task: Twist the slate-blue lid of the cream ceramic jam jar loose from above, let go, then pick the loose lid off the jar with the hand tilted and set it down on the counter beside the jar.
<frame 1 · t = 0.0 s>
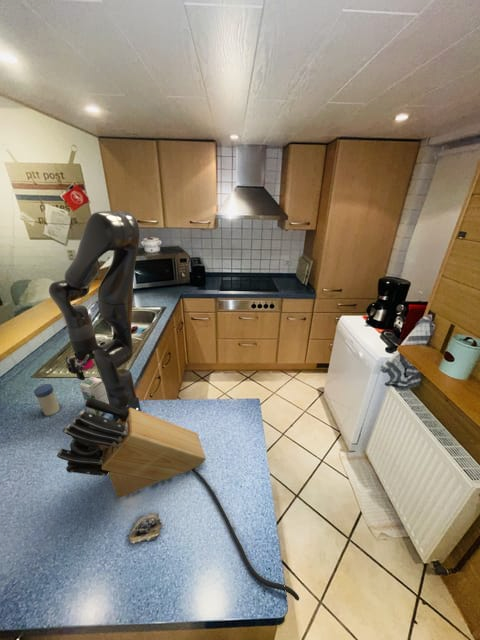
hand: (93, 372, 94), 17 cm above the worktop, tool pointing down, fingers open, 8 cm apart
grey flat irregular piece: (145, 530, 64), on the worktop
jar: (51, 410, 100), on the worktop
pepper mill: (86, 366, 127), on the worktop
syrup box: (99, 411, 100), on the worktop
knife block: (146, 471, 78), on the worktop
lid: (43, 389, 95), point 11 cm above the worktop, screwed on, not yet turned
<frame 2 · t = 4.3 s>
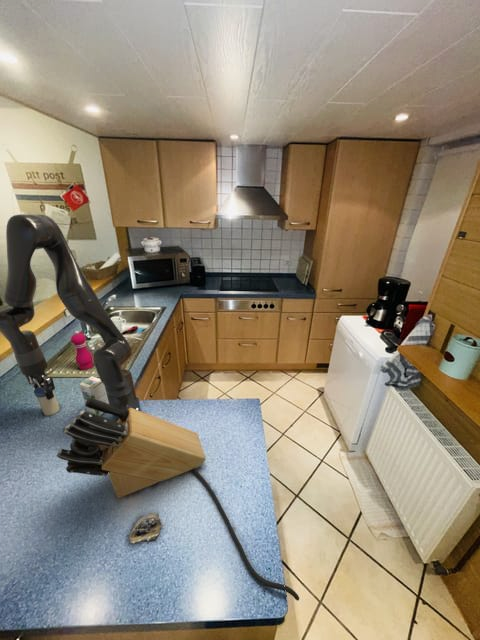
hand: (45, 395, 96), 8 cm above the worktop, tool pointing down, fingers closed on lid, 5 cm apart
lid: (43, 389, 95), point 11 cm above the worktop, screwed on, not yet turned, touching gripper
everything else where it was.
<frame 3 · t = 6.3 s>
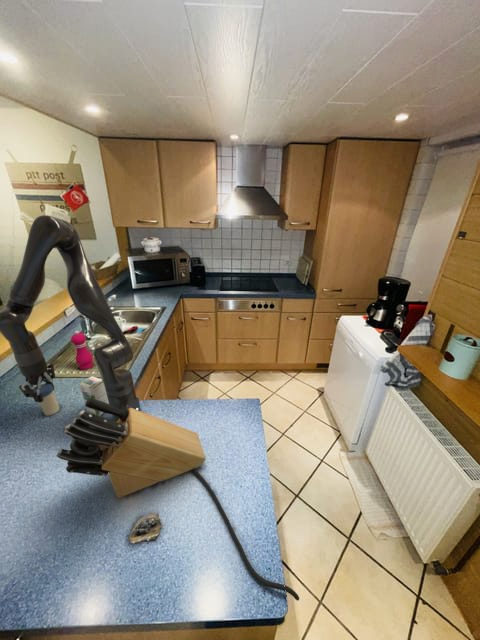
hand: (45, 395, 96), 8 cm above the worktop, tool pointing down, fingers closed on lid, 5 cm apart
jar: (51, 410, 100), on the worktop, touching gripper
lid: (42, 389, 95), point 11 cm above the worktop, off its thread, touching gripper
everything else where it was.
when the fingers open (7 cm above the worktop, at t = 7.6 s): lid stays where it is, resting on jar.
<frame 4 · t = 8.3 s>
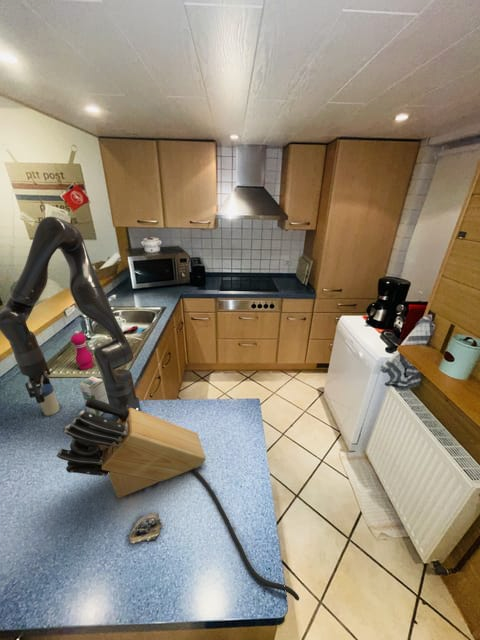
hand: (45, 394, 96), 8 cm above the worktop, tool pointing down, fingers open, 8 cm apart
jar: (51, 410, 100), on the worktop, touching lid
lid: (43, 389, 95), point 11 cm above the worktop, off its thread, touching jar
everything else where it was.
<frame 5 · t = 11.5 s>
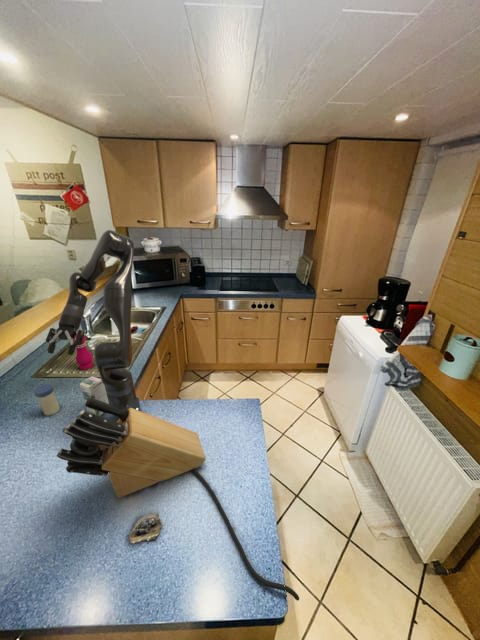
hand: (59, 353, 102), 19 cm above the worktop, tool tilted 45°, fingers open, 8 cm apart
nothing on the worktop moved.
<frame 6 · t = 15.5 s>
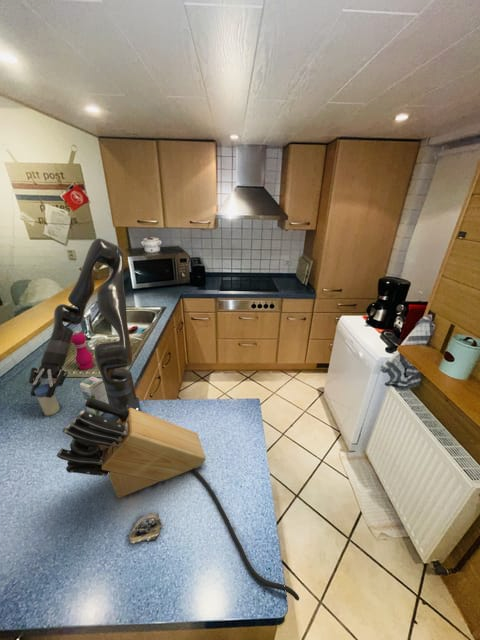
hand: (41, 396, 94), 9 cm above the worktop, tool tilted 45°, fingers closed on lid, 5 cm apart
lid: (43, 389, 95), point 11 cm above the worktop, off its thread, touching gripper, jar
everything else where it was.
when the fingers open (1 cm above the worktop, at t = 25.8 s): lid stays where it is, point 1 cm above the worktop.
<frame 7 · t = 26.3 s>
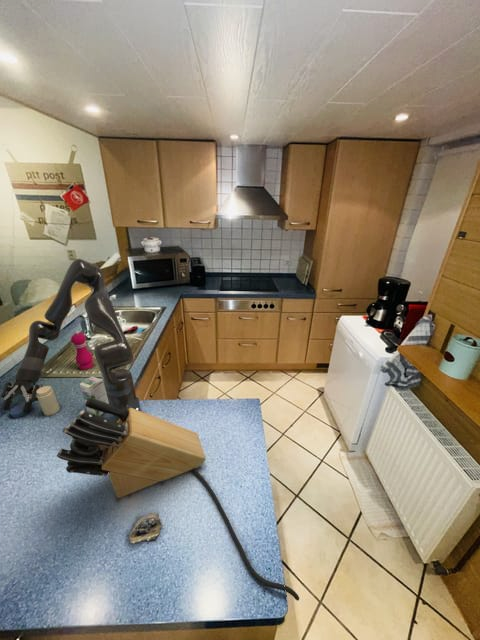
hand: (14, 411, 96), 2 cm above the worktop, tool tilted 45°, fingers open, 8 cm apart
jar: (51, 410, 100), on the worktop
lid: (19, 409, 98), point 1 cm above the worktop, off its thread
everything else where it was.
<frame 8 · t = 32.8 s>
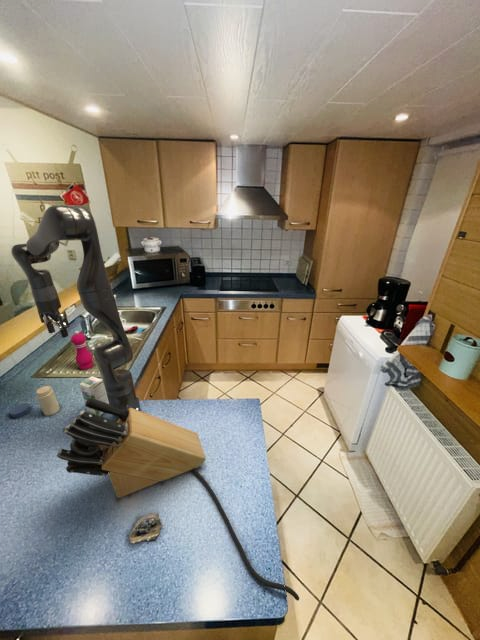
hand: (58, 334, 102), 26 cm above the worktop, tool pointing down, fingers open, 8 cm apart
nothing on the worktop moved.
at the end: lid came off its thread; lid point 1.5 cm above the worktop; the gripper is holding nothing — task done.
